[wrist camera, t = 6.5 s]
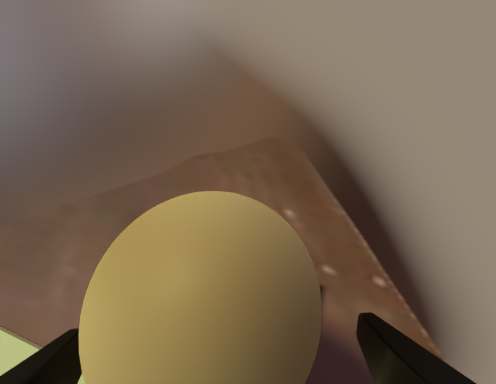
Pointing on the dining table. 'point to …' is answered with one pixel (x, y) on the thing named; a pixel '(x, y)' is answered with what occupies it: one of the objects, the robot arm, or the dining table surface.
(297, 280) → the tan dome-topped cylinder
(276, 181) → the dining table surface
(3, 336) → the mat
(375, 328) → the robot arm
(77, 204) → the dining table surface
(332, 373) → the dining table surface
